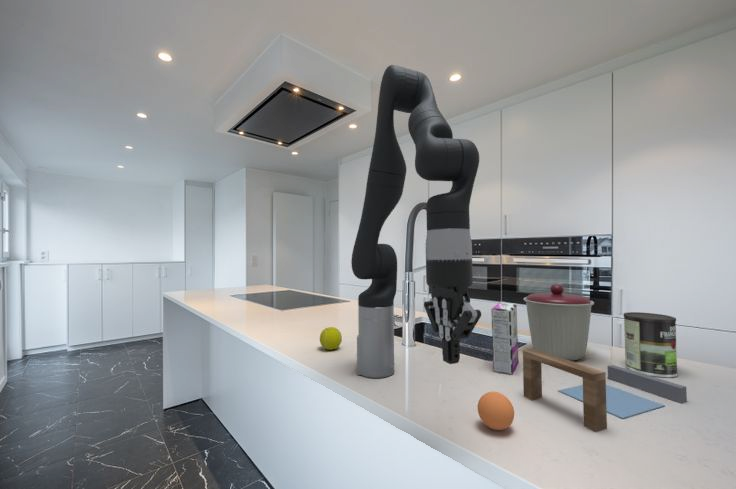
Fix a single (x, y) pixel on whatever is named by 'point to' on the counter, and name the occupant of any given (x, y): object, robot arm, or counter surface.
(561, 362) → the bridge
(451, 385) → the counter surface
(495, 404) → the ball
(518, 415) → the counter surface
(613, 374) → the stopper
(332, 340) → the tennis ball
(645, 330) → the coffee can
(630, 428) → the counter surface
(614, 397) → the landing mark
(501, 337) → the candy bar box
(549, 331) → the canister
